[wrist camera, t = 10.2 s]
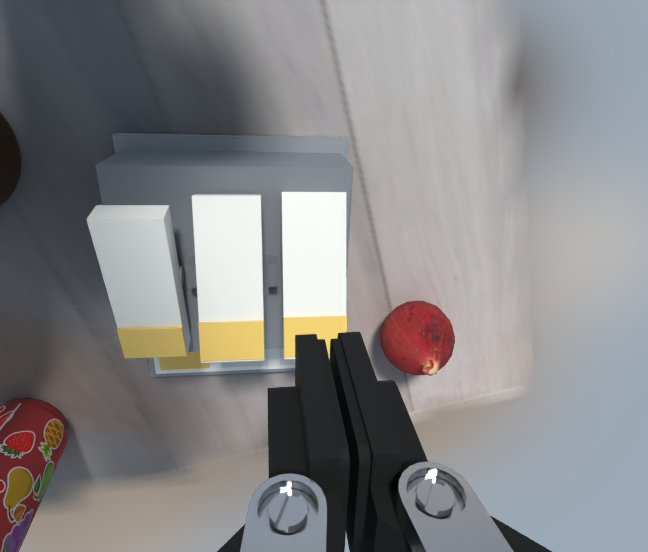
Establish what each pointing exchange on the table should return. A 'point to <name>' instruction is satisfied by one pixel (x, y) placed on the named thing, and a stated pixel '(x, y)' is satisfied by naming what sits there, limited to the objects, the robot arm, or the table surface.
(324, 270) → the rocker
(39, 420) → the smoothie
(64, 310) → the table surface
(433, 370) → the onion
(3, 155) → the olive oil
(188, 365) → the switch unit
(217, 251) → the rocker
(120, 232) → the rocker
